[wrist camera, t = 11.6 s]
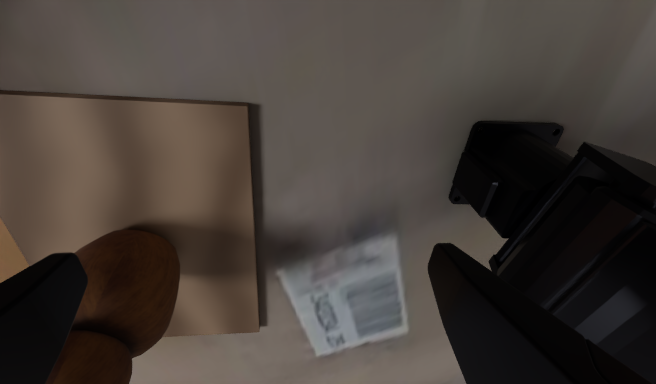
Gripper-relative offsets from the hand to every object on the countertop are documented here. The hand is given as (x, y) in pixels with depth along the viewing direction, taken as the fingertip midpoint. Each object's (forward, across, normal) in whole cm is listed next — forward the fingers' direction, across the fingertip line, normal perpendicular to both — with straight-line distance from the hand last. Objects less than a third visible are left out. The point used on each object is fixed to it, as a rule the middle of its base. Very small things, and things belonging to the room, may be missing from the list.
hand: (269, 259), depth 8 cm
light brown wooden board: (+14, +10, +11) cm, 20 cm away
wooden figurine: (+13, +10, +11) cm, 19 cm away
